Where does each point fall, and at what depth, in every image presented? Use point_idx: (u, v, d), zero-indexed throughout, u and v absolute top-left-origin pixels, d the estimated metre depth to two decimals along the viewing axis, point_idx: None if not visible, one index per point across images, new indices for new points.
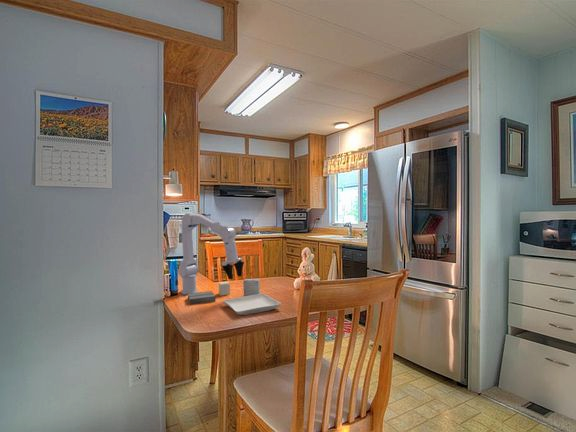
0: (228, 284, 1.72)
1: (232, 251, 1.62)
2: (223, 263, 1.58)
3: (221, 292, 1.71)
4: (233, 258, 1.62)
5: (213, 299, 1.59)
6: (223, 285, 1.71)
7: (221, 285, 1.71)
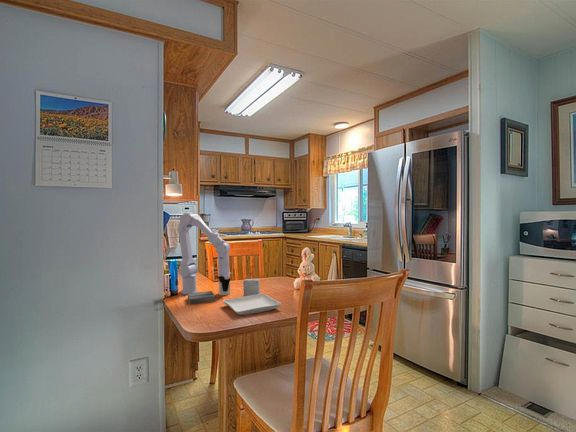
0: None
1: (228, 265, 1.73)
2: (226, 277, 1.67)
3: (221, 292, 1.71)
4: (228, 272, 1.73)
5: (213, 299, 1.59)
6: None
7: (221, 285, 1.71)
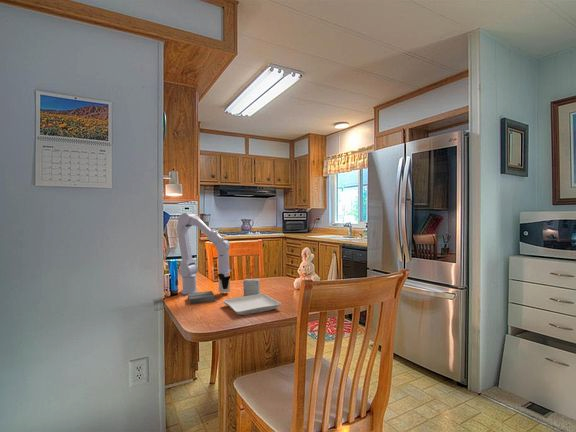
0: None
1: (228, 263, 1.73)
2: (226, 274, 1.67)
3: (221, 289, 1.71)
4: (228, 269, 1.73)
5: (213, 299, 1.59)
6: None
7: (221, 282, 1.71)
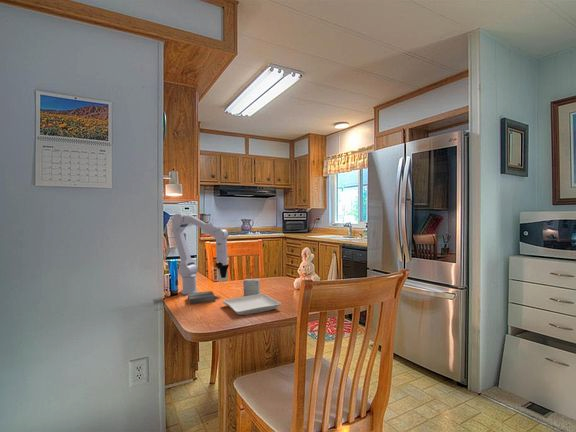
0: None
1: (226, 252, 1.72)
2: (224, 263, 1.66)
3: (219, 278, 1.70)
4: (226, 258, 1.72)
5: (213, 299, 1.59)
6: None
7: (219, 271, 1.70)
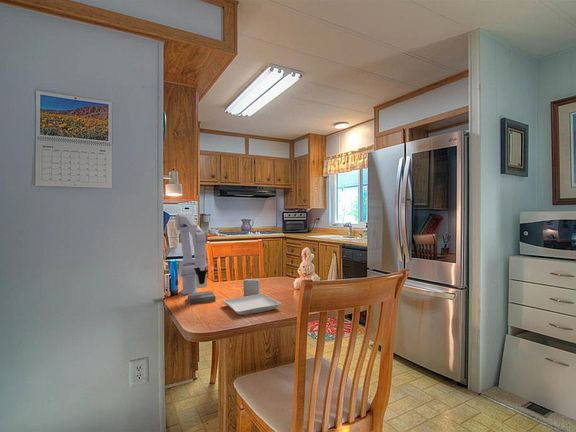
0: (205, 276, 1.61)
1: (205, 256, 1.61)
2: (202, 268, 1.56)
3: (197, 285, 1.59)
4: (205, 263, 1.61)
5: (213, 299, 1.59)
6: None
7: (197, 277, 1.59)
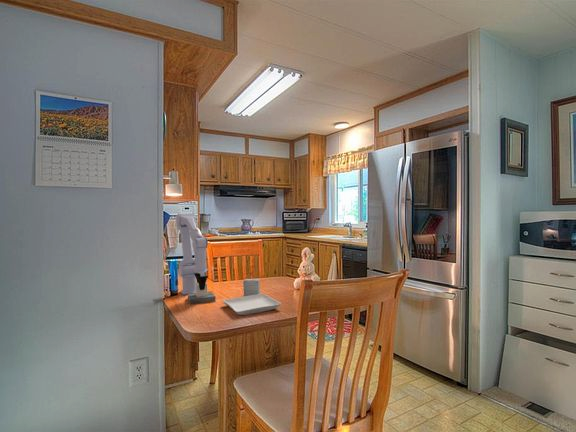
0: (205, 285, 1.61)
1: (205, 261, 1.61)
2: (202, 274, 1.56)
3: (198, 293, 1.59)
4: (205, 268, 1.61)
5: (213, 299, 1.59)
6: None
7: (198, 286, 1.59)
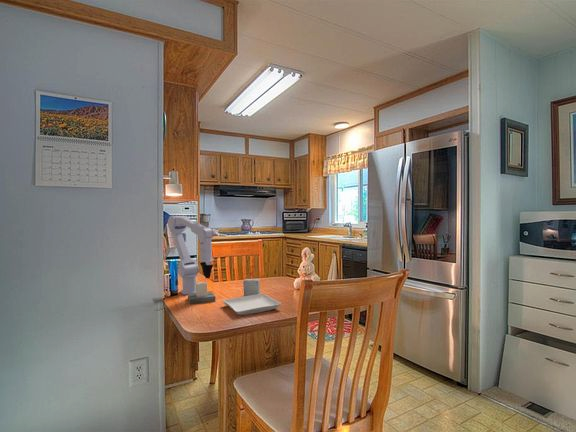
0: (205, 285, 1.61)
1: (210, 251, 1.68)
2: (207, 262, 1.62)
3: (197, 293, 1.59)
4: (211, 258, 1.68)
5: (213, 299, 1.59)
6: (200, 286, 1.60)
7: (197, 286, 1.59)
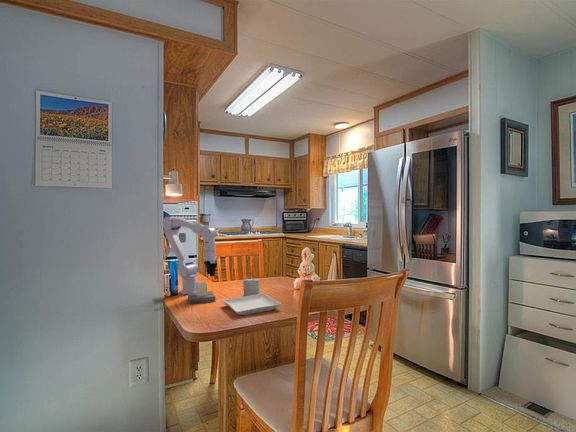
0: (205, 284, 1.61)
1: (214, 250, 1.72)
2: (212, 261, 1.66)
3: (198, 293, 1.60)
4: (214, 256, 1.72)
5: (213, 299, 1.59)
6: (200, 285, 1.60)
7: (198, 285, 1.60)
